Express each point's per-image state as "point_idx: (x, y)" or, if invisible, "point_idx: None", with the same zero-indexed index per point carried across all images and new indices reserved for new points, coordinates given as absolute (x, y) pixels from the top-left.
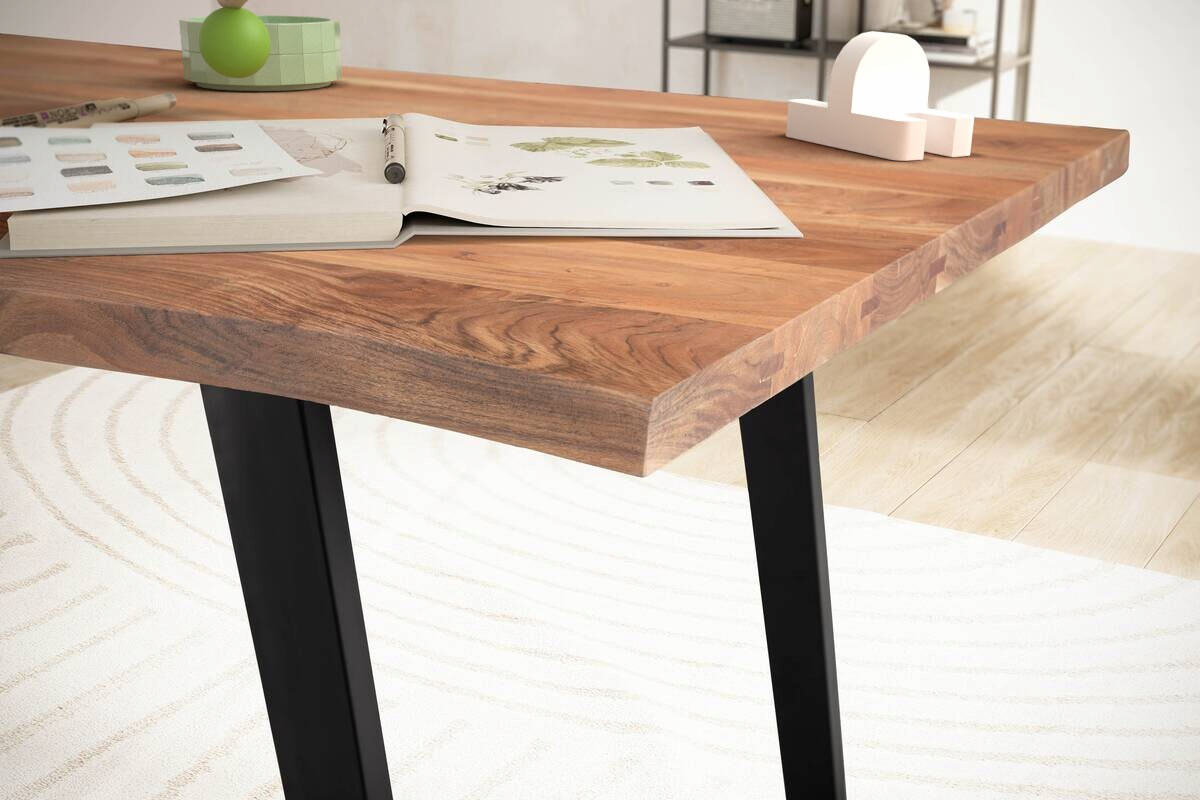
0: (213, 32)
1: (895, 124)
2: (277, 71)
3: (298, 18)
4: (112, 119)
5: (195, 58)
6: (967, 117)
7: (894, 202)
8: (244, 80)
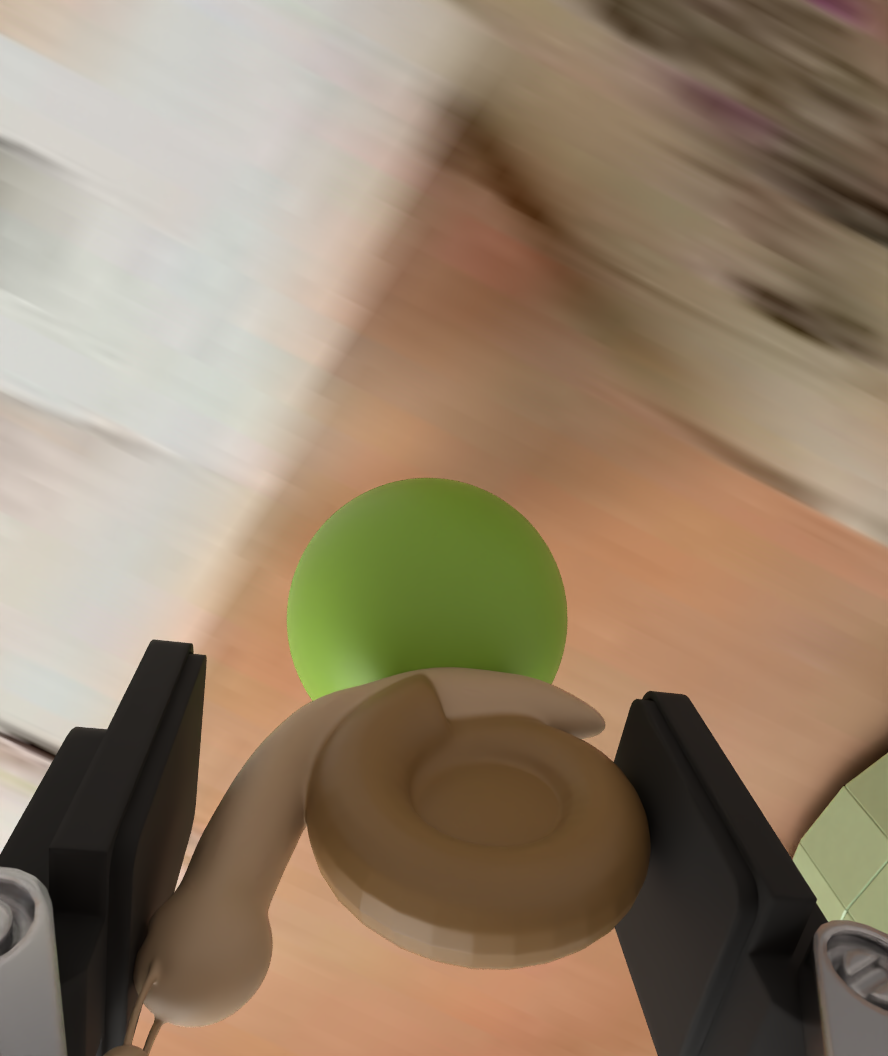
0: (365, 521)
1: None
2: (823, 865)
3: None
4: (543, 130)
5: None
6: None
7: None
8: (875, 776)
